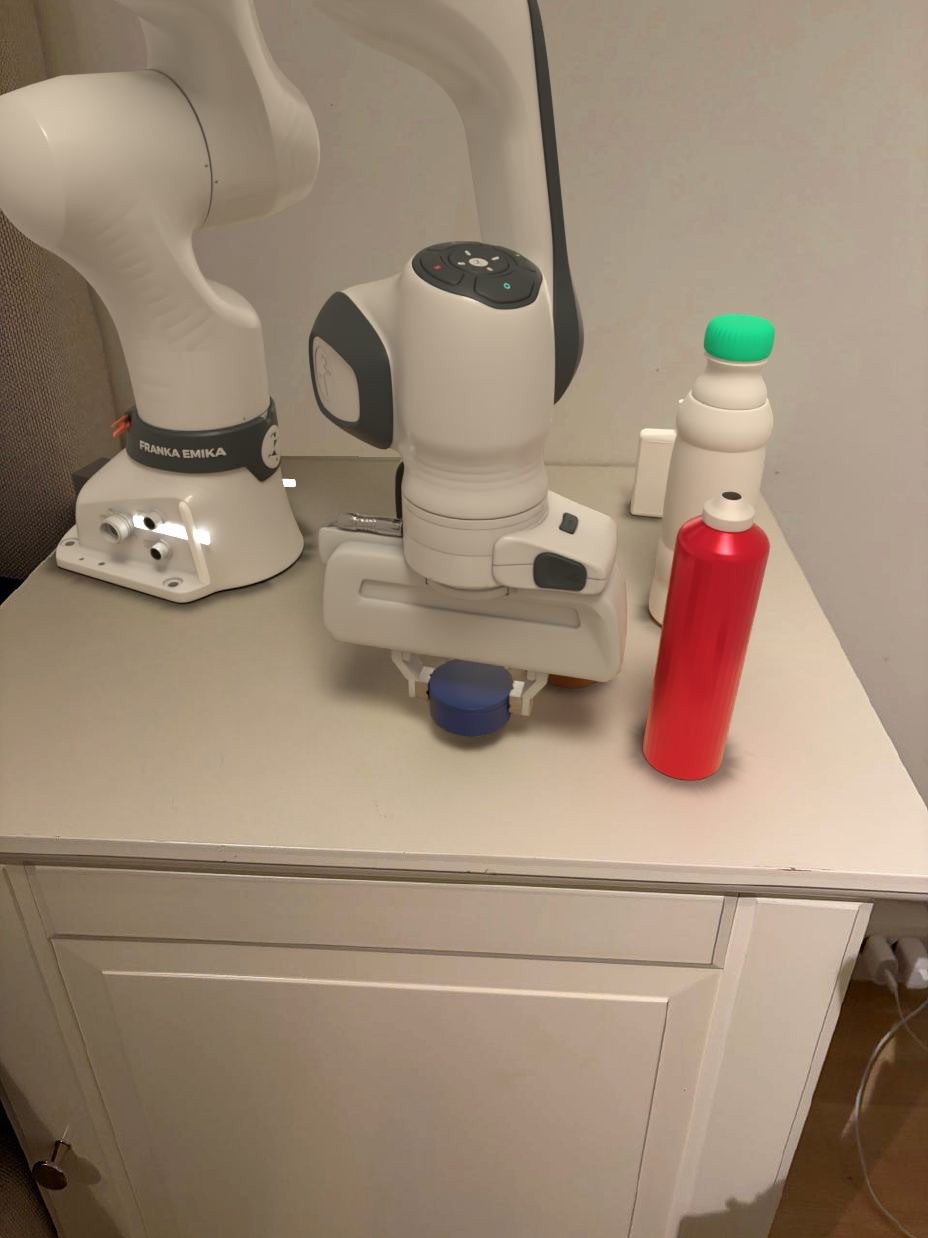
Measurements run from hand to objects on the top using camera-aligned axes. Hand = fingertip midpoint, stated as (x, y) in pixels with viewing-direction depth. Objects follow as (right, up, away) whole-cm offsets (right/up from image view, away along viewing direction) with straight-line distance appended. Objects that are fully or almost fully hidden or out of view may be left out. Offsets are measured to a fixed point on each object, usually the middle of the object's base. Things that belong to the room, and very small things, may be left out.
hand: (471, 701), depth 65 cm
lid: (0, +1, -1) cm, 1 cm away
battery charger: (-3, +10, +20) cm, 23 cm away
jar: (+8, +2, +7) cm, 11 cm away
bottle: (+15, -4, 0) cm, 15 cm away
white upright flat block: (+20, +16, +29) cm, 39 cm away
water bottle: (+19, +6, +14) cm, 24 cm away
